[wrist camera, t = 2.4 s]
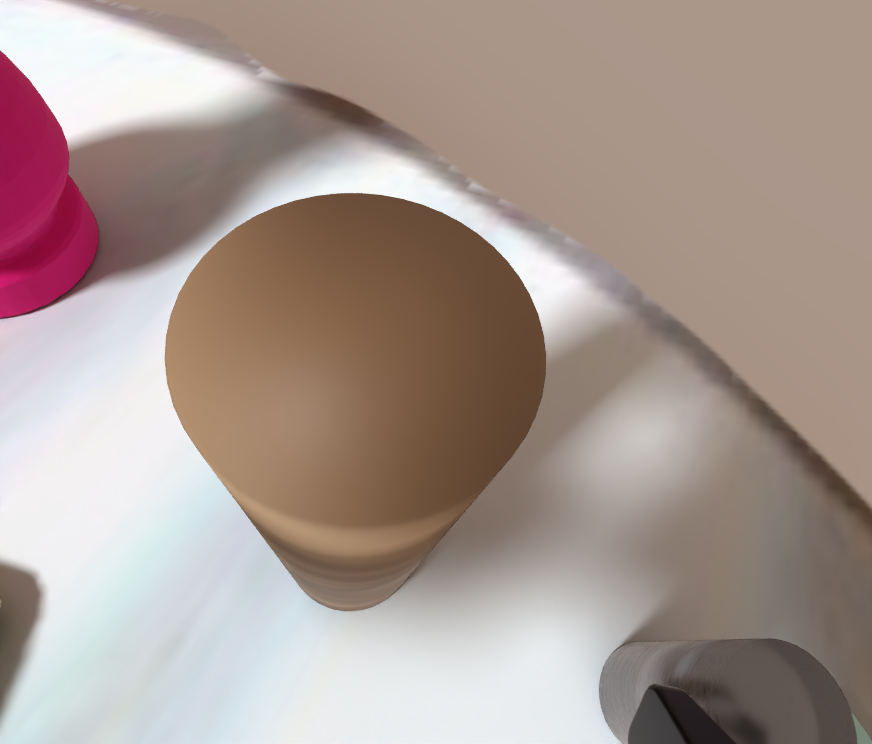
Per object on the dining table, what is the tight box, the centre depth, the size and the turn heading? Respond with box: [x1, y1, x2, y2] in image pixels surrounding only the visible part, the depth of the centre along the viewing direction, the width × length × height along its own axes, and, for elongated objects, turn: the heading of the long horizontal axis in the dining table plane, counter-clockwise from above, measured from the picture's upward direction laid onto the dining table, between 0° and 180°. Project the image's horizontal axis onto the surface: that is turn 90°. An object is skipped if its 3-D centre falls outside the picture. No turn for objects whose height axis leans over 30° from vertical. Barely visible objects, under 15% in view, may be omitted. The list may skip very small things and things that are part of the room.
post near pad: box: [599, 639, 857, 744], centre depth 14 cm, size 3×3×6 cm
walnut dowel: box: [165, 193, 546, 611], centre depth 12 cm, size 4×4×13 cm
